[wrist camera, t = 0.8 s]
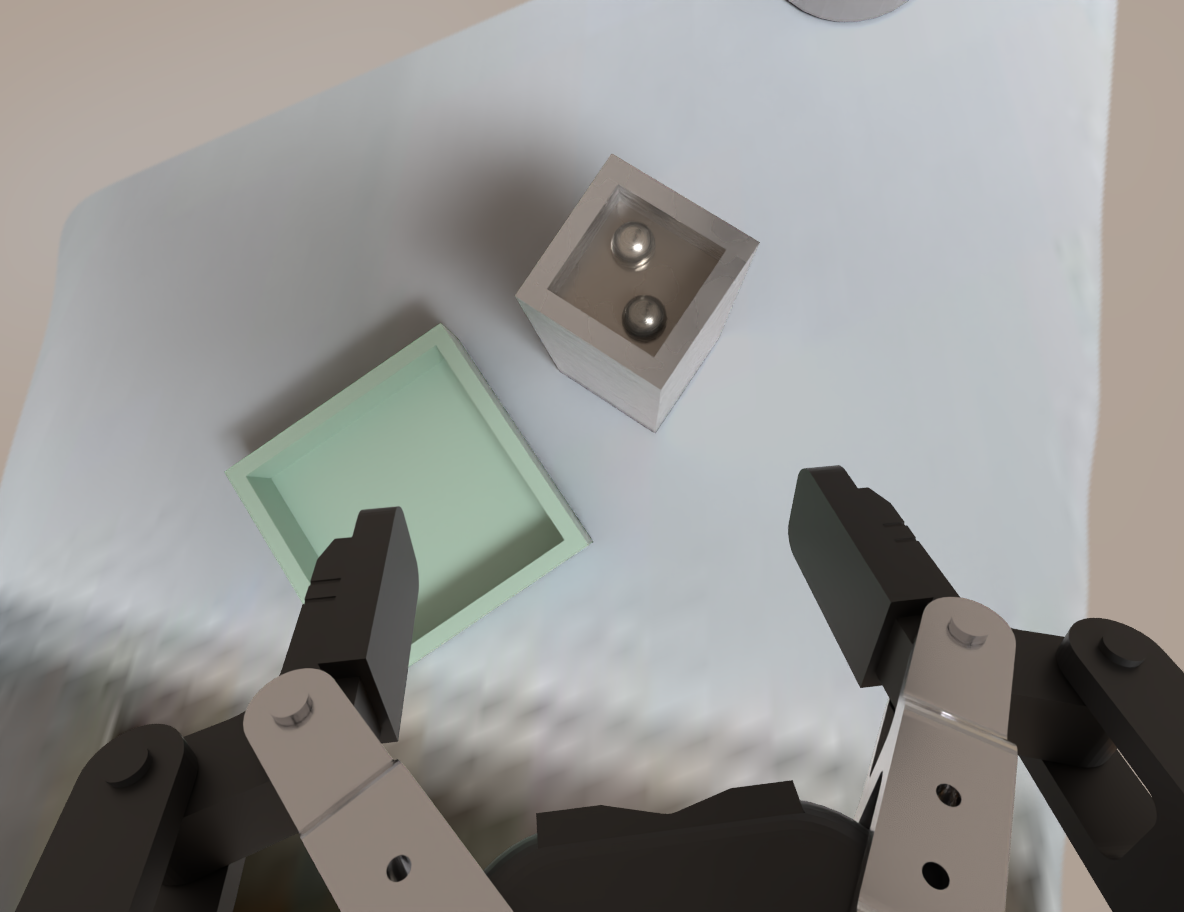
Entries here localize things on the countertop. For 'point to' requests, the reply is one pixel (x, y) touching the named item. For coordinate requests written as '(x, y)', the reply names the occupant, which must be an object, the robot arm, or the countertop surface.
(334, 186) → the countertop surface
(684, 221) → the canister
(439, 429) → the bin
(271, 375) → the countertop surface
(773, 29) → the countertop surface
